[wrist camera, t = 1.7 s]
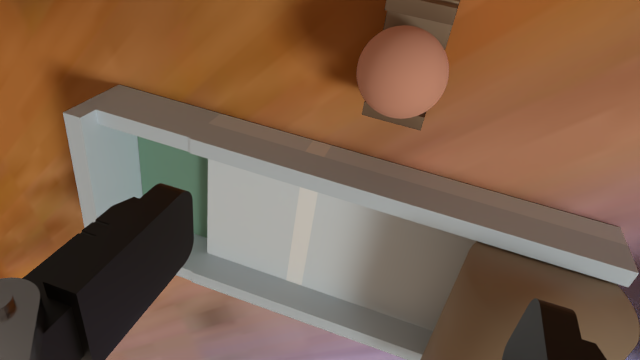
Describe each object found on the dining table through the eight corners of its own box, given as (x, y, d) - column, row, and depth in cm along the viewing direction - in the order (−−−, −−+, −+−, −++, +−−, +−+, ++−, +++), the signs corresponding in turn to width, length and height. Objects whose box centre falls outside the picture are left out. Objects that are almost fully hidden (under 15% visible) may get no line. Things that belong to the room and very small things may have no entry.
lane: (119, 84, 31) (-7, 146, 23) (620, 227, 25) (680, 374, 17) (133, 220, 37) (40, 304, 30) (533, 357, 32) (547, 506, 24)
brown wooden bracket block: (400, -21, 22) (388, -10, 19) (462, -8, 22) (458, 6, 19) (374, 93, 26) (361, 116, 23) (427, 106, 25) (419, 132, 22)
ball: (376, 7, 21) (356, 27, 18) (463, 27, 20) (459, 51, 17) (360, 88, 23) (339, 119, 20) (437, 108, 22) (429, 144, 19)
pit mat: (136, 103, 31) (134, 104, 31) (219, 127, 30) (218, 128, 30) (146, 215, 37) (144, 216, 36) (216, 239, 36) (215, 240, 35)
